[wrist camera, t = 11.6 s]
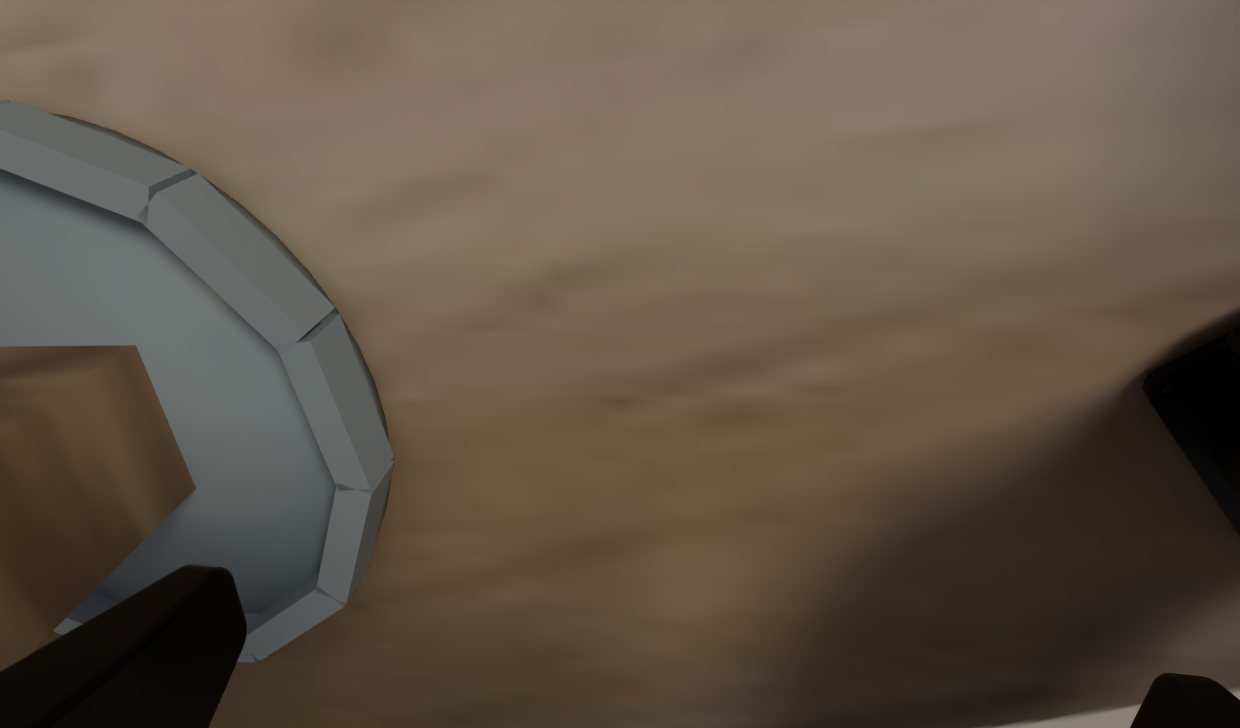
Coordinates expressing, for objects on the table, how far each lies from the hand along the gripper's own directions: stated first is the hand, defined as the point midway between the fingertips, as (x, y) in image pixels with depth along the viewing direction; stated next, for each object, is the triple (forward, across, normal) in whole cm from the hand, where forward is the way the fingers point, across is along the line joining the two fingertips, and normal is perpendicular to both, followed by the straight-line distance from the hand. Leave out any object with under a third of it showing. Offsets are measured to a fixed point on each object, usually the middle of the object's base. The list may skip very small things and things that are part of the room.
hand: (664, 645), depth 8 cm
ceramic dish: (+13, +18, +7) cm, 24 cm away
